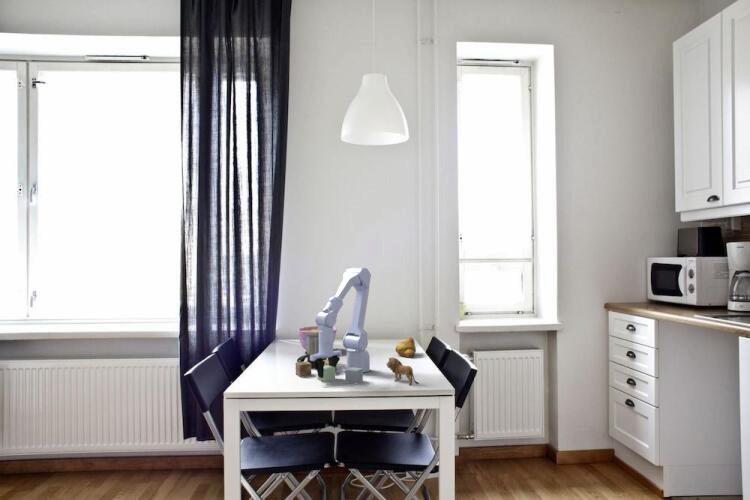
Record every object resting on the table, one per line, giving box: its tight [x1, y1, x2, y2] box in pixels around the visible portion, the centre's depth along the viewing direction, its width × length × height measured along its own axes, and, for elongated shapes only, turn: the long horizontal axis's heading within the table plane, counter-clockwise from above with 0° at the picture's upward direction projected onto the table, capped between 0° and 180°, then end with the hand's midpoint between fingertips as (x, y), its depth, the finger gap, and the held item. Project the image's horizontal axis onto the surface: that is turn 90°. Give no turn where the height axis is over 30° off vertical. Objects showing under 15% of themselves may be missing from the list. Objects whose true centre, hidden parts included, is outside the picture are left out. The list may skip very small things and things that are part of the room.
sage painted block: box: [317, 365, 336, 383], centre depth 208 cm, size 5×5×5 cm
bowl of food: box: [297, 325, 338, 351], centre depth 264 cm, size 20×20×12 cm
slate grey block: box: [344, 367, 364, 384], centre depth 204 cm, size 5×5×5 cm
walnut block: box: [295, 360, 312, 378], centre depth 216 cm, size 5×5×5 cm
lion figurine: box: [386, 356, 419, 386], centre depth 203 cm, size 15×5×9 cm, turn 50°
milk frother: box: [296, 332, 328, 370], centre depth 234 cm, size 14×16×15 cm
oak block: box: [323, 358, 338, 374], centre depth 220 cm, size 5×5×5 cm
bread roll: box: [395, 337, 417, 358], centre depth 253 cm, size 13×10×8 cm
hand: (326, 376), depth 208 cm, fingers closed on sage painted block, 5 cm apart
